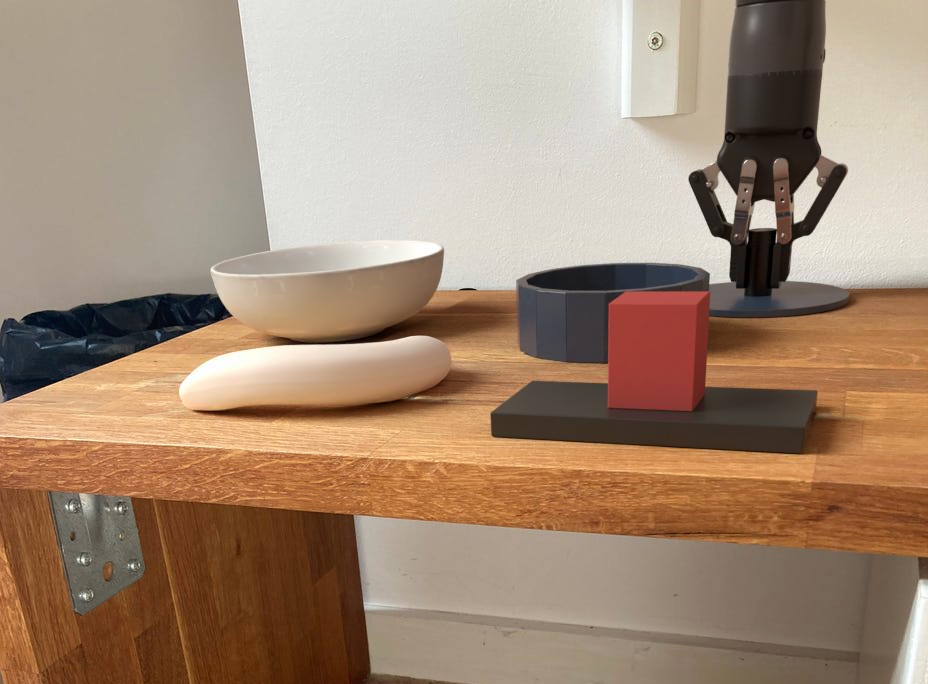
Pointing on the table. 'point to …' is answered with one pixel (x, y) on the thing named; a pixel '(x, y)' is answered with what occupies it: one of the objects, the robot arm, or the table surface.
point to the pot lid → (758, 291)
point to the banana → (318, 374)
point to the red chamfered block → (658, 350)
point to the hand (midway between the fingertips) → (758, 286)
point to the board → (660, 418)
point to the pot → (588, 305)
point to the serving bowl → (330, 288)
